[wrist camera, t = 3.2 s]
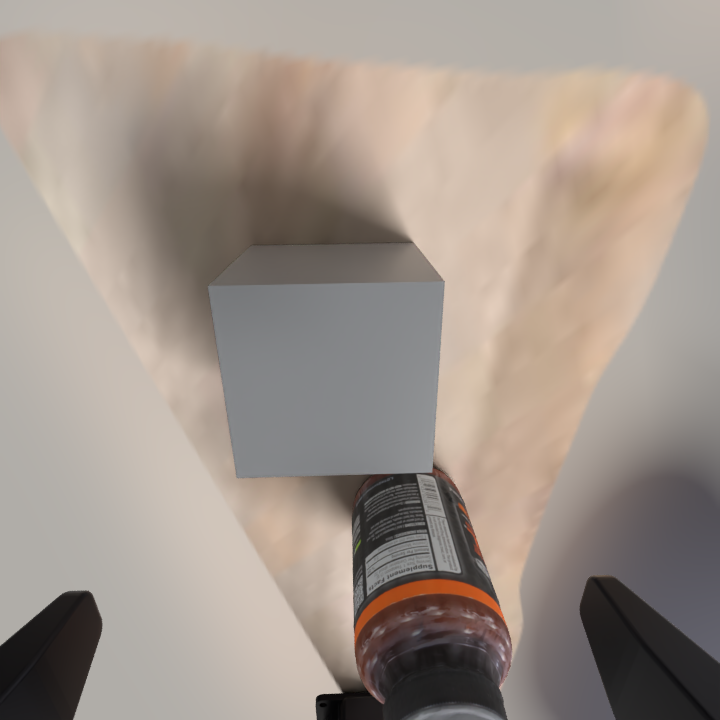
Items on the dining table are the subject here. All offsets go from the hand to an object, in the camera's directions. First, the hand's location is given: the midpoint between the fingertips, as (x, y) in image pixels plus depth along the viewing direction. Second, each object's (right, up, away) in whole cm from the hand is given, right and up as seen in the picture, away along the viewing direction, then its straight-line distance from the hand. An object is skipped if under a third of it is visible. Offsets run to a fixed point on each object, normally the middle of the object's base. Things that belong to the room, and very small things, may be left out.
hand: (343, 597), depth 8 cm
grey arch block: (-1, +6, +12) cm, 14 cm away
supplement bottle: (+3, -3, +17) cm, 17 cm away
